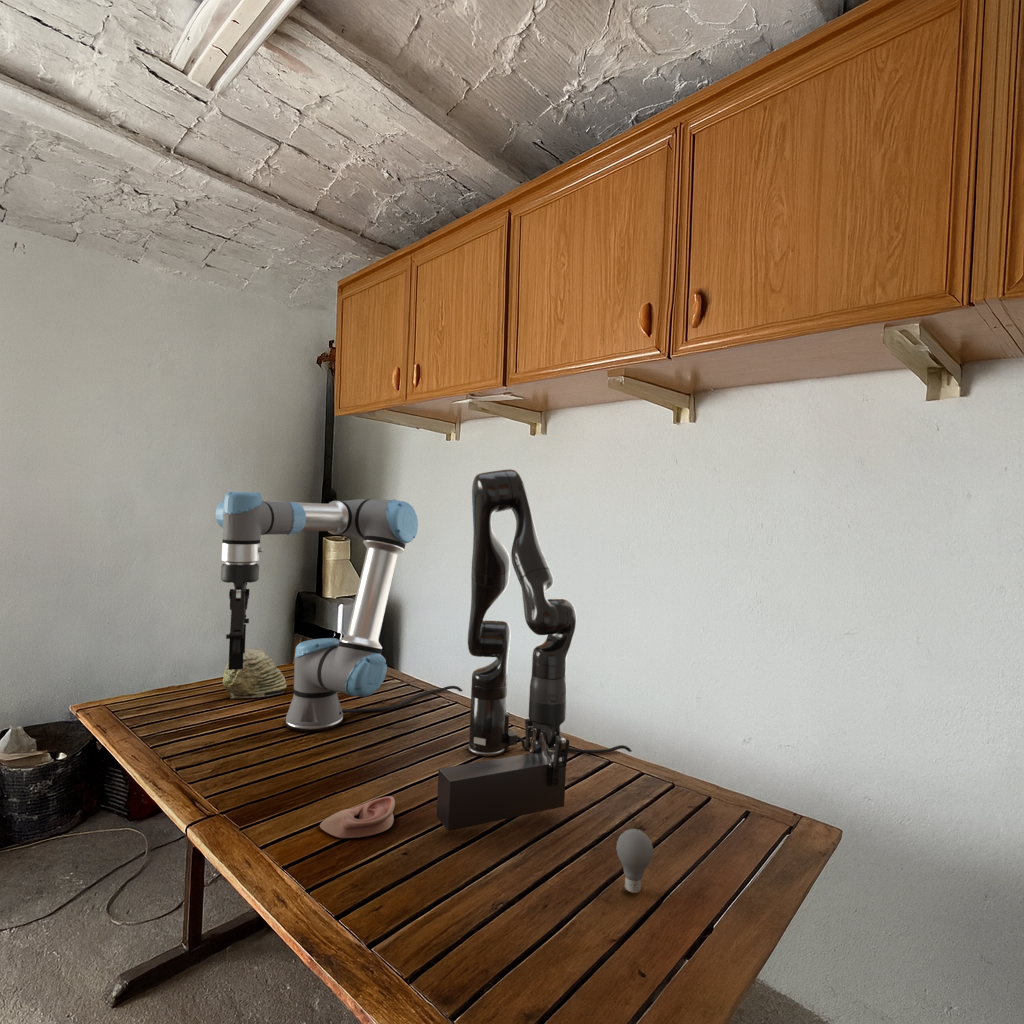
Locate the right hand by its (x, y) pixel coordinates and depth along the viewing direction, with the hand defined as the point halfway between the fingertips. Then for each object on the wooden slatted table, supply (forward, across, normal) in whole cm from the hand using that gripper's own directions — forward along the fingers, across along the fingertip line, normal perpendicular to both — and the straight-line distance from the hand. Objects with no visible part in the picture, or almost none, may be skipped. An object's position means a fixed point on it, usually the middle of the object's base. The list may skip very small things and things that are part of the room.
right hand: (544, 778), depth 129 cm
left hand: (-19, +38, +56) cm, 70 cm away
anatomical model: (+8, +11, +35) cm, 38 cm away
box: (+5, 0, +9) cm, 11 cm away
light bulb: (+8, -27, -1) cm, 29 cm away
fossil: (+8, +101, +46) cm, 111 cm away
